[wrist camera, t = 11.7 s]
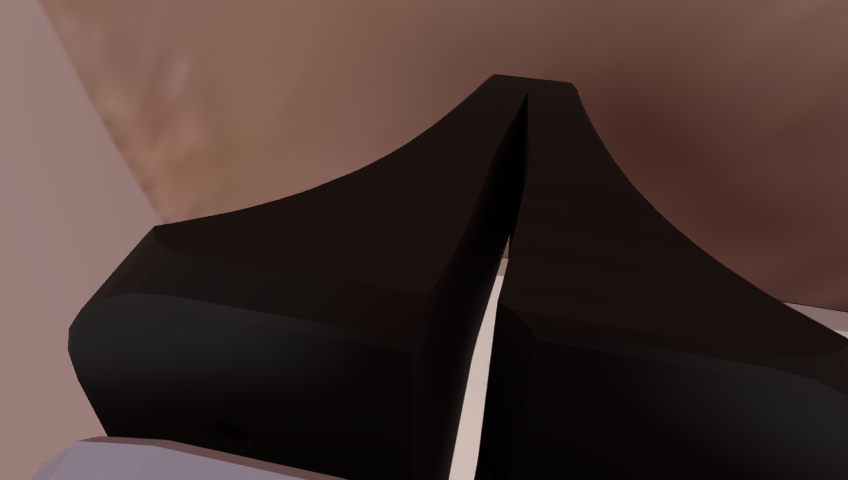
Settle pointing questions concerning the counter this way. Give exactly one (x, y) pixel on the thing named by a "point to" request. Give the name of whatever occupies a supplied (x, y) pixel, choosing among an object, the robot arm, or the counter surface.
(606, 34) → the counter surface
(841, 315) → the post board
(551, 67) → the counter surface
